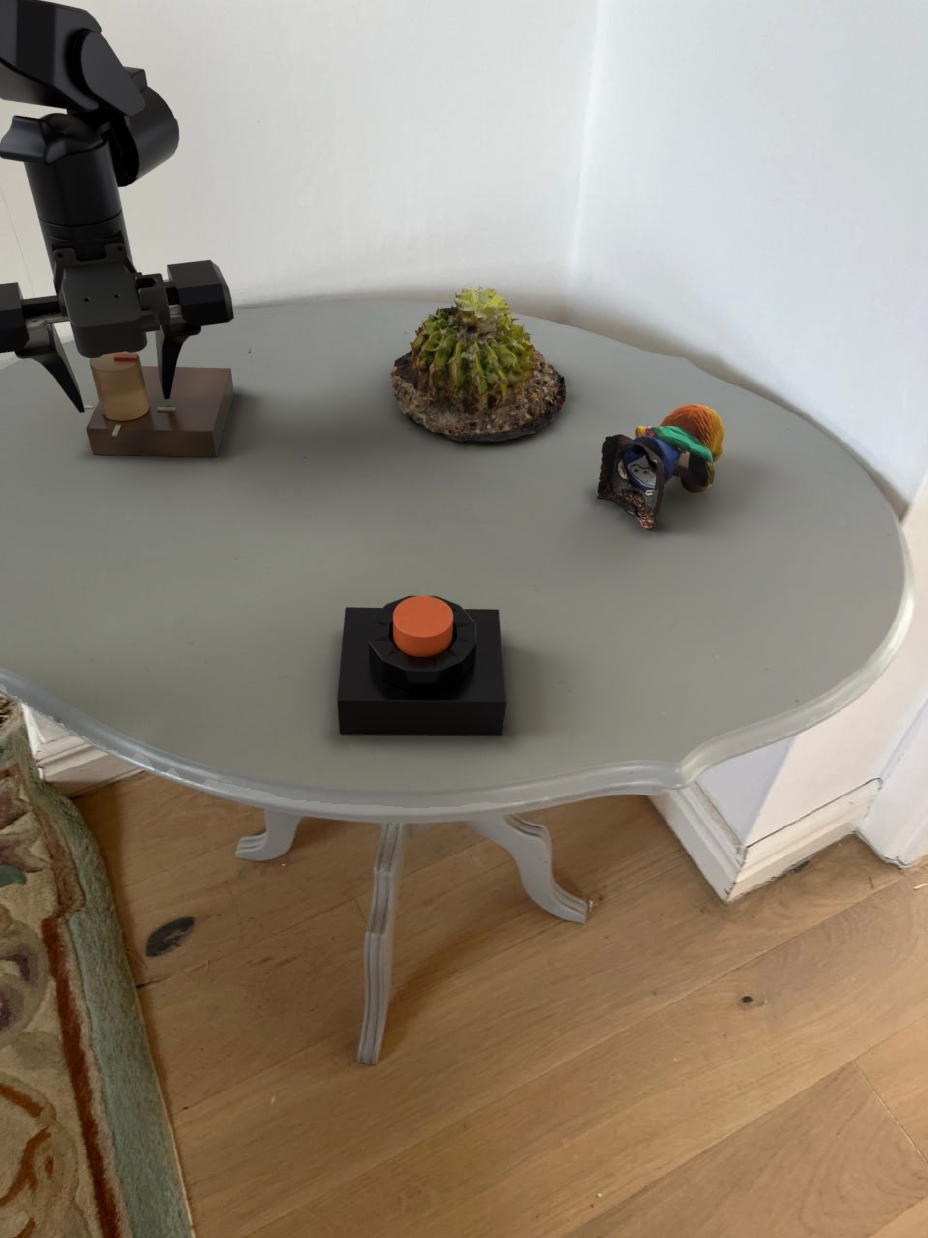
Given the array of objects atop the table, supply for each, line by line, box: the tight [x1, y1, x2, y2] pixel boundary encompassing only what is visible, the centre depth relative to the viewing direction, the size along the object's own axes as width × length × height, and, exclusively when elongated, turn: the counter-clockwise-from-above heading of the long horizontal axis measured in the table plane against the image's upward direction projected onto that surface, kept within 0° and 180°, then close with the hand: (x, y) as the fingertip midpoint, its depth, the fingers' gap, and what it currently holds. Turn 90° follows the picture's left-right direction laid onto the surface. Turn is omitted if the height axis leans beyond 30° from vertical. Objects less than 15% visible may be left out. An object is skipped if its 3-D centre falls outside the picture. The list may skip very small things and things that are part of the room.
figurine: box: [596, 403, 725, 530], centre depth 76 cm, size 11×8×6 cm, turn 122°
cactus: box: [390, 285, 568, 443], centre depth 84 cm, size 17×16×10 cm
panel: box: [75, 365, 235, 458], centre depth 81 cm, size 12×11×3 cm
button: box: [393, 595, 453, 657], centre depth 58 cm, size 4×4×2 cm
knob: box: [88, 352, 150, 421], centre depth 77 cm, size 4×4×5 cm
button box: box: [336, 595, 507, 737], centre depth 60 cm, size 10×8×5 cm
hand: (124, 403), depth 79 cm, fingers open, 6 cm apart
